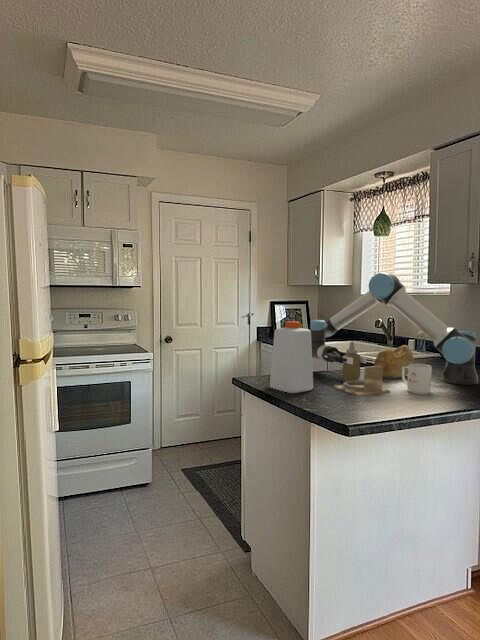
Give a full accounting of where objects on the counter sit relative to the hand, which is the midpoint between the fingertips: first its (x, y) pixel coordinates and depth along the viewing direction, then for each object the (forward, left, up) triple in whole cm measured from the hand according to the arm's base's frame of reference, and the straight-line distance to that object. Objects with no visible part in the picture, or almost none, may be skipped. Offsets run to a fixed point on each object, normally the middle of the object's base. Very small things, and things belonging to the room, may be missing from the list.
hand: (358, 360), depth 196 cm
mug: (-23, -6, -11) cm, 26 cm away
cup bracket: (-7, +9, -10) cm, 16 cm away
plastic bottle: (+13, +30, -11) cm, 34 cm away
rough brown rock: (+1, -30, -11) cm, 32 cm away
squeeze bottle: (+5, -2, -10) cm, 11 cm away
